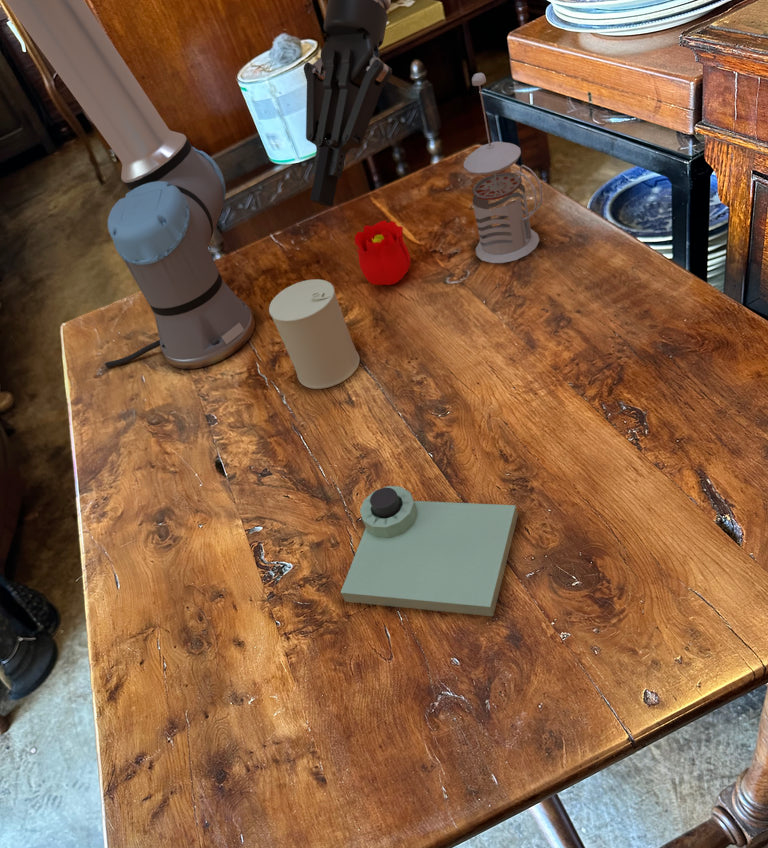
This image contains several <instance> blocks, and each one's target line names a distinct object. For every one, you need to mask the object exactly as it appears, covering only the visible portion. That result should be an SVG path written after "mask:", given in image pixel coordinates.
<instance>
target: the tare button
mask: <svg viewBox="0 0 768 848" xmlns="http://www.w3.org/2000/svg"><path fill="white" fill-rule="evenodd" d="M376 490H377V491H375V490H374V491H375V492H374V491H373V492H374V493H373V494H372V496H371V498H370V503H371V506H372V508H373V510H374V513H375V515H376V516H378V517H379V518H389V517H392V516H394V515H396V514H397V513H398V512H399V510H400V507H401V504H400V501H399V498H398V496H397V493H396V491H395V490H393V489H392V488H384V487H381V488H379V489H376Z"/></svg>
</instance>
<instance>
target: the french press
mask: <svg viewBox="0 0 768 848" xmlns="http://www.w3.org/2000/svg"><path fill="white" fill-rule="evenodd" d="M486 82H487V78H486V76H485V74H484V73H483V72H477V73H474V74H473V76H472V78H471V85H472V86H473V87H477V86H478V90H479V96H480V101H481V106H482V113H483V118H484V123H485V124H484V125H485V130H486V136H487V141H488V143H486V144H482V145H480V146H479V147H477V148H476V149H475V150H473V151H472V152H471V153H470V154H468V155H467V156H466V158H465V160H464V161H463V168H464V169H465V171H466V172H468V173H469V174H471V175H476V176H485V177H483V178H481V179H480V180H478V181H477V182H475V184H474V186H473V187H472V189H471V191H472V194H473V197H472V206H473V213H474V216H475V222H476V227H477V232H478V239H479V242H478V244H477V245H476V247H475V256H476V257H477V258H478V259H480V261H483V262H486V263H490V264H504V263H508V262H509V263H510V262H513V261H517V260H519V259H522V258H524V257H526V256H528V255H529V254H531V252H532V251H534V250H535V249H536V248H537V247H538V244H539V242H540V237H539V234H538V233H537V232H536V231H535V230H533V229H532V228H531V222H530V218H531V217H532V216H533V215H534V214H535V213H536V212H537V210H539V209H540V207H541V204H542V201H543V197H544V196H543V186H542V183H541V181H540V179H539V177H538V175H537V174H536V173H535V171H534V170H532V169H531V168H530V167H528V166H527V165H525V164H521V165H520V166H519V170H516V171H514V172H510V171H507V172H502V171H505V170H508V169H509V168H511V167H512V166H513V165H515V163H517V162H518V160H519V158H520V157H521V154H522V151H521V147H519V146H518V145H516V144H514V143H512V142H504V141H499V140H498V141H497V140H496V141H493V142H491V139H490V134H489V127H488V122H487V121H488V120H487V117H486V109H485V104H484V98H483V93H482V87H481V86H482V85H484V84H485V83H486ZM523 168H524V169H526V170H527V171H528V172H530V173H531V174H532V175H533V176H534V178H535V180H536V181H537V183H538V185H539V191H540V192H539V193H540V198H539V202H538V198H537V190H536V188H535V186H534V184H533V183H532V181H531V180H530V178H528V177H527V176H526V174H524V173H523ZM522 177H523V178H524V179H525V180H526V181H527V182H529V185H530V186H531V188H532V191H533V194H534V207H533V210H531V211H529V209H528V201H527V194H526V189H525V185H524V184H523V183H522V181H523V180H522ZM517 190H520V191H521V192H522V193H523V194H522V193H520V192H518V191H517ZM516 191H517V192H516ZM512 198H518V199H516V200H512V201H511V202H508V201H509V200H511V199H512ZM491 200H494V202H490V203H489V201H491ZM495 200H496V201H495ZM522 200H523V201H522ZM505 202H508V203H507V204H506V205H504V206H501V207H500V205H502V204H504V203H505ZM497 206H499V207H497ZM523 208H524V209H523ZM492 216H498V217H494V218H492ZM507 218H508V219H507Z"/></svg>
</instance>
